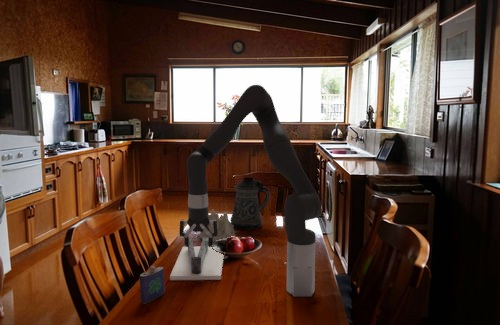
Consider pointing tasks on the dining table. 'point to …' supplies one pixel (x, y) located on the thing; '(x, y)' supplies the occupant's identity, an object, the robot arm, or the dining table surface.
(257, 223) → the beer stein
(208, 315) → the dining table surface
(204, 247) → the arm
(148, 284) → the flask
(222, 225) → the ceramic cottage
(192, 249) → the tongs arm
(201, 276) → the cutting board
